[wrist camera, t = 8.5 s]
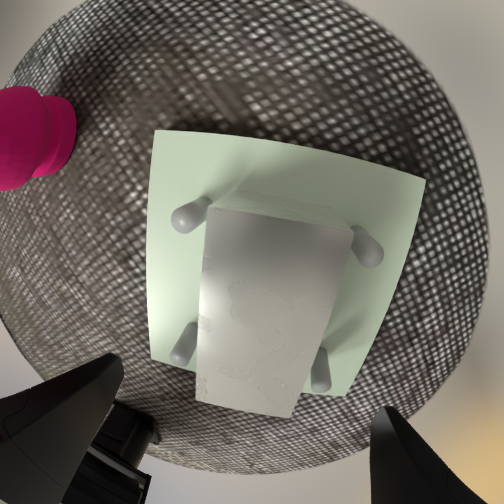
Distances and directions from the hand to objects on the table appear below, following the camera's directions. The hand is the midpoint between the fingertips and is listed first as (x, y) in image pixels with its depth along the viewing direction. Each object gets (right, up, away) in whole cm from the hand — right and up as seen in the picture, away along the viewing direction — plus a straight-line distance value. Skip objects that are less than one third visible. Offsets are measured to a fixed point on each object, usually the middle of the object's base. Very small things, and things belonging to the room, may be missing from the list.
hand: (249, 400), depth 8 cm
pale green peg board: (+1, +3, +9) cm, 9 cm away
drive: (+1, +3, +8) cm, 8 cm away
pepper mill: (-15, +14, +8) cm, 22 cm away
